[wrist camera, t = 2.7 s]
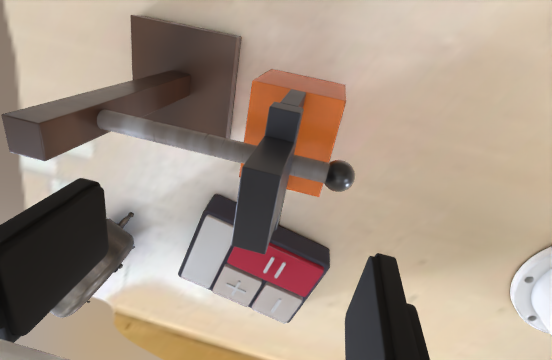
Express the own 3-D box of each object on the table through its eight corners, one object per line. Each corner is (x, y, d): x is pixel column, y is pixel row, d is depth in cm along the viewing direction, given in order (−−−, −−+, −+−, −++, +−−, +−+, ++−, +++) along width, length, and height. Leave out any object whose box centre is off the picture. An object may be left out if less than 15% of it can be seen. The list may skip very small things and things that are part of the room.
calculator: (287, 329, 39) (174, 280, 38) (290, 302, 43) (187, 256, 42) (331, 271, 34) (202, 212, 33) (330, 245, 38) (214, 192, 37)
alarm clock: (127, 198, 40) (6, 296, 25) (160, 227, 41) (62, 337, 27) (88, 242, 44) (-34, 345, 30) (118, 267, 46) (15, 378, 31)
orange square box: (345, 84, 25) (348, 154, 12) (323, 165, 28) (306, 292, 15) (271, 68, 25) (190, 117, 12) (258, 149, 29) (183, 258, 15)
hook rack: (365, 62, 28) (396, 113, 12) (336, 164, 33) (329, 302, 16) (139, 15, 30) (-104, 3, 14) (141, 117, 35) (-40, 200, 18)
